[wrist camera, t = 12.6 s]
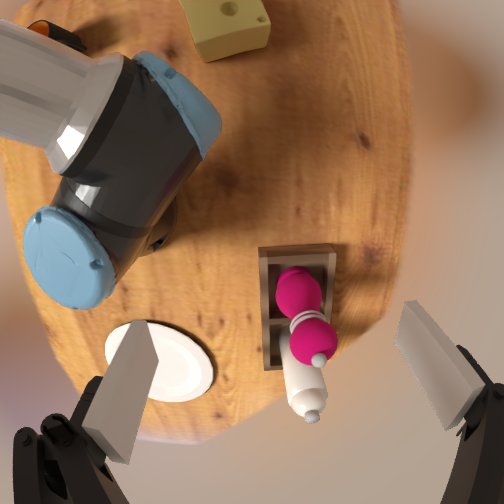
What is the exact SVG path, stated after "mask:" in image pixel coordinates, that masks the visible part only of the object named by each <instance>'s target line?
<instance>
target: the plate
mask: <svg viewBox="0 0 504 504" xmlns="http://www.w3.org/2000/svg"><path fill="white" fill-rule="evenodd" d="M130 324H131V323H127V324H125V325H122V326H120V327H117V328H116V329H115V330H114V331H113V332H112V333H111V334H110V335H109V337H108V339H107V341H106V343H105V355H106V359H107V362H108V364H109V365H110V363H111V361H112V359H113V357H114V355H115V353H116V351H117V349H118V347H119V345H120V343H121V341H122V339H123V337H124V335H125V333H126V332H127V330H128V328H129V326H130ZM147 324H148V328H149V331H150V334H151V337H152V341H153V344H154V347H155V350H156V353H157V356H158V359H159V363H158V366H157V369H156V372H155V375H154V378H153V381H152V385H151V388H150V391H149V394H148V397H149V398H152V399H155V400H160V401H166V402H183V401H187V400H192V399H195V398H197V397H199V396H200V395H202V394H204V393H205V392H206V391H207V390H208V389H209V387H210V385H211V383H212V381H213V367H212V364H211V361H210V359H209V357H208V356H207V354H206V353H205V352H204V350H203V349H202V348H201V347H200V346H199V345H198V344H197V343H196V342H194V341H193V340H192V339H191V338H190V337H188V336H186V335H184V334H183V333H181V332H179V331H177V330H175V329H173V328H170V327H167V326H164V325H161V324H157V323H149V322H147Z"/></svg>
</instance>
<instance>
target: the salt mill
mask: <svg viewBox="0 0 504 504" xmlns="http://www.w3.org/2000/svg"><path fill="white" fill-rule="evenodd" d="M290 324H291V323H289V324H287V325H285V326H283V327H282V328H281V329H280V331H279V333H278V339H279V346H280V352H281V358H282V365H283V371H284V378H285V384H286V390H287V397H288V403H289V405H290V406H291V407H292V408H293V410H294V412H295V413H297V414H298V415H299V416H301V417H305V420H306V423H309V424H312V423H315V422H318V421H319V420H320V417H319V413H321V412H322V411H323V409H324V408H325V405H326V399H327V397H328V393H327V389H326V386H325V382H324V379H323V376H322V372H321V369H320V368H317V367H315V366H313V365H312V366H311V365H305V364H303V363H300V362H299V361H298V360H296V358H295V357H294V356H293V355H292V352H291V350H290V344H289V341H290V337H291V332H290Z"/></svg>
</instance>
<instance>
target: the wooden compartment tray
mask: <svg viewBox="0 0 504 504" xmlns="http://www.w3.org/2000/svg"><path fill="white" fill-rule="evenodd" d="M336 254H337V253H336V252H335V250H334V249H333V248H332V246H331V245H330V244H312V245H294V246H276V247H258V256H259V278H260V300H261V323H262V347H263V364H264V371H269V370H282V369H283V365H282V358H281V352H280V346H279V339H278V333H279V331H280V329H281V328H282V327H283V326H285V325H287V324H289V323H291V322H292V321H291V319H290V318H288V317H287V316H286V315H284V314H283V313H282V311H281V310H280V309H279V307H278V305H277V302H276V290H277V288H276V281H277V278H278V276H279V274H280V273H281V272H282V271H284V270H285V269H287V268H289V267H294V266H298V267H302V268H305V269H306V270H308V271H309V273H310V274H311V276H312V277H313V278H314V279H315V280H316V281H317V282H318V284H319V286H320V289H321V293H322V300H321V305H320V308H319V312H320V313H322V314H323V315H324V316H325V318H326V321H327V323H329V324H330V320H331V311H332V301H333V291H334V280H335V268H336Z"/></svg>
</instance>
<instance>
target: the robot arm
mask: <svg viewBox="0 0 504 504" xmlns="http://www.w3.org/2000/svg"><path fill="white" fill-rule="evenodd" d="M221 129H222V120H221V116H220V114H219V113H218V111H217V109H216V108H215V107H214V106H213V104H212V103H211V102H210V101H209V100H208V99H207V98H206V96H205V95H204V94H203V93H202V92H201V91H200V90H199V89H198V88H197V87H196V86H194V85H193V84H192V83H191V82H190V81H189V80H188V79H187V78H186V77H184V76H183V75H182V74H180V73H178V72H176V70H175V69H174V68H172V67H171V66H170V65H169V64H168V63H167V62H166V61H164V60H163V59H161V58H160V57H158V56H157V55H155V54H153V53H151V52H148V51H142V52H140V53H139V54H137V55H135V56H134V57H133V59H132V60H131V59H129V58H127V57H126V56H124V55H122V54H121V53H118V52H116V53H112V54H108V55H105V56H101V57H98V58H90V57H88V56H86V55H84V54H82V53H80V52H78V51H76V50H74V49H72V48H70V47H68V46H66V45H64V44H62V43H59V42H57V41H55V40H53V39H51V38H48V37H46V36H44V35H42V34H39V33H37V32H34V31H32V30H30V29H27V28H25V27H22V26H20V25H17V24H15V23H12V22H9V21H6V20H4V19H1V18H0V136H1V137H4V138H7V139H10V140H13V141H17V142H20V143H23V144H26V145H29V146H32V147H35V148H38V149H41V150H43V151H44V152H45V153H46V156H47V158H48V161H49V164H50V166H51V169H52V171H53V172H54V173H55V174H58V175H61V176H63V178H62V180H61V182H60V184H59V187H58V189H57V191H56V194H55V196H54V198H53V200H52V202H51V204H50V205H49V206H46V207H42V208H40V209H38V210H37V211H36V213H35V214H34V215H33V216H32V217H31V218H30V219H29V221H28V222H27V224H26V226H25V230H24V234H23V250H24V256H25V259H26V262H27V265H28V267H29V268H30V270H31V273H32V276H33V277H34V279H35V281H36V282H37V283H38V285H39V286H40V287H41V288H42V290H43V291H44V292H45V293H46V294H47V295H48V296H50V297H51V298H52V299H53V300H55V301H56V302H58V303H59V304H61V305H63V306H65V307H68V308H71V309H81V310H89V309H92V308H94V307H96V306H98V305H99V304H101V303H102V302H103V301H104V299H106V298H108V296H110V295H111V294H112V293H113V291H114V288H115V286H116V284H117V283H118V282H119V280H120V279H121V278H122V277H123V275H124V274H125V273H126V272H127V270H128V269H129V268H130V267H131V266H132V264H133V263H134V262H135V261H136V259H137V258H138V257H142V256H146V255H149V254H151V253H153V252H154V251H156V250H157V249H159V248H160V247H161V246H162V245H163V244H164V243H165V242H166V240H167V239H168V238H169V236H170V235H171V233H172V231H173V229H174V226H175V223H176V218H177V204H176V199H175V196H176V194H177V193H178V191H179V190H180V189H181V187H182V186H183V185H184V183H185V182H186V180H187V179H188V178H189V176H190V175H191V174H192V172H193V171H194V170H195V168H196V167H197V166H198V164H199V163H200V162H201V161H203V160H204V159H205V157H206V153H207V151H208V150H209V149H210V147H211V146H212V144H213V143H214V142H215V140H216V139H217V137H218V136H219V135H220V132H221ZM394 343H395V345H396V346H397V348H398V350H399V351H400V353H401V355H402V356H403V358H404V359H405V361H406V363H407V364H408V366H409V368H410V369H411V371H412V373H413V374H414V376H415V378H416V379H417V381H418V383H419V384H420V386H421V388H422V390H423V391H424V393H425V395H426V397H427V398H428V400H429V402H430V404H431V406H432V407H433V409H434V411H435V413H436V415H437V416H438V418H439V420H440V422H441V424H442V426H443V427H444V430H445V431H446V430H448V429H451V428H453V427H455V426H457V425H458V424H459V423H460V421H461V420H462V419H463V417H464V419H465V420H466V422H465V424H464V425H463V426H462V427H461V429H460V430H459V431H458V433H457V435H456V436H459V434H460V433H461V432H462V435H461V439H460V444H459V447H458V452H457V455H456V459H455V462H454V466H453V469H452V472H451V475H450V478H449V482H448V484H447V487H446V490H445V493H444V495H443V498H442V501H441V503H440V504H504V385H503V384H501V383H495V384H494V383H493V382H492V381H491V380H490V378H489V377H488V376H487V374H486V373H485V372H484V371H483V369H482V368H481V367H480V365H479V364H477V362H476V360H475V359H474V358H473V357H472V355H471V354H470V353H469V352H468V351H467V350H466V349H465V348H463V347H462V346H460V345H457V346H455V345H454V343H453V342H452V341H451V340H450V339H449V337H448V336H447V335H446V334H445V333H444V331H443V330H442V329H441V328H440V327H439V325H438V324H437V323H436V322H435V321H434V320H433V318H432V317H431V316H430V315H429V314H428V313H427V312H426V311H425V309H424V308H423V307H422V306H421V305H420V304H419V303H418V302H417V301H416V300H414V301H407V302H405V303H404V307H403V311H402V315H401V319H400V323H399V326H398V330H397V334H396V337H395V340H394ZM158 363H159V359H158V356H157V353H156V350H155V347H154V344H153V341H152V337H151V334H150V331H149V328H148V324H147V321H146V320H132V322H131V324H130V326H129V328H128V330H127V332H126V333H125V335H124V337H123V339H122V341H121V343H120V345H119V347H118V349H117V351H116V353H115V355H114V357H113V359H112V361H111V363H110V365H109V367H108V369H107V371H106V373H105V375H104V377H101V376H95V377H94V378H93V379H92V380H91V381H90V382H88V384H87V386H86V388H85V390H84V393H83V394H82V396H81V398H80V400H79V402H78V404H77V406H76V408H75V410H74V412H73V415H72V417H71V419H70V421H69V420H68V419H67V418H66V417H65V416H64V415H62V414H57V413H55V414H51V415H49V416H47V417H46V418H45V419H44V420H43V421H42V424H41V432H42V434H43V435H38V434H37V433H36V432H35V431H34V430H33V429H32V428H30V427H24V428H21V429H20V430H18V431H17V433H16V434H15V437H14V444H13V489H14V490H13V491H14V504H129V502H128V501H127V499H126V497H125V496H124V494H123V492H122V491H121V489H120V487H119V486H118V484H117V482H116V481H115V479H114V477H113V475H112V473H111V471H110V469H109V468H108V466H107V464H106V463H105V458H106V455H107V456H108V457H109V459H110V460H111V461H113V462H117V463H122V464H126V465H128V464H129V461H130V457H131V454H132V450H133V446H134V442H135V439H136V435H137V432H138V428H139V425H140V421H141V418H142V414H143V411H144V408H145V404H146V401H147V398H148V394H149V391H150V388H151V385H152V381H153V378H154V375H155V372H156V369H157V366H158Z"/></svg>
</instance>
